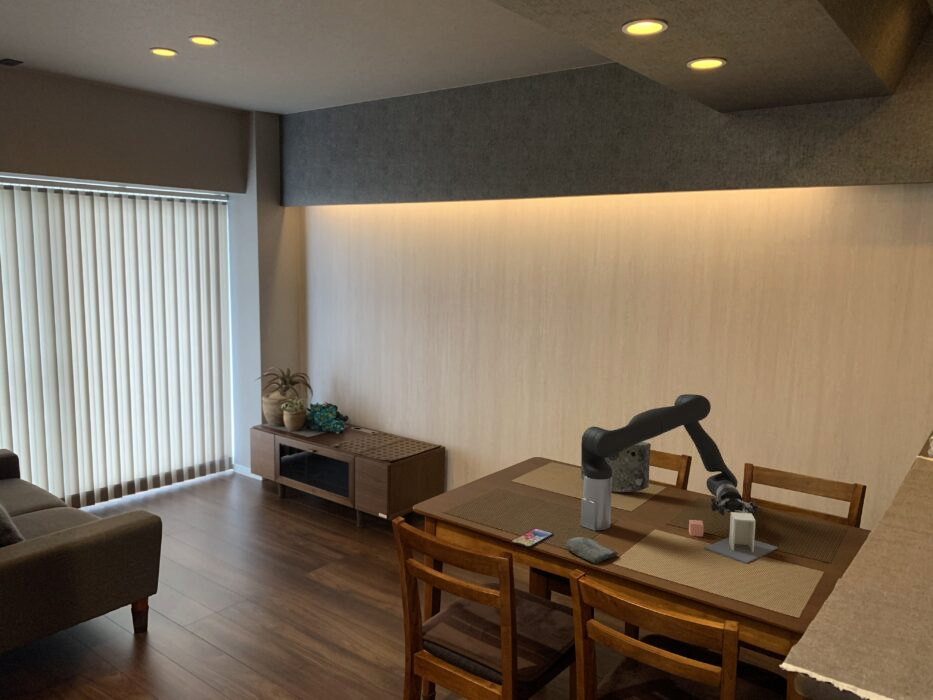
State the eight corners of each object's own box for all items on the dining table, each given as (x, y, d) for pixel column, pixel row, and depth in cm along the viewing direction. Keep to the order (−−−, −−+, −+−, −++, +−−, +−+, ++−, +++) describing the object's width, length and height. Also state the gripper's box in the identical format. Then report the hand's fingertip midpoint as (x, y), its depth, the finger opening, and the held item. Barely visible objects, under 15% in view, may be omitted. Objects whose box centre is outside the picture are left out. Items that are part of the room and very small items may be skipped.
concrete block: (576, 485, 286) (577, 436, 284) (585, 480, 293) (587, 432, 291) (640, 498, 271) (642, 446, 269) (649, 492, 278) (651, 441, 276)
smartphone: (554, 533, 235) (529, 546, 223) (554, 536, 235) (529, 549, 223) (535, 528, 240) (509, 541, 228) (535, 530, 240) (509, 543, 228)
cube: (690, 535, 235) (690, 524, 235) (688, 531, 239) (689, 519, 239) (703, 536, 234) (703, 524, 234) (701, 532, 238) (702, 520, 238)
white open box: (732, 550, 222) (734, 518, 221) (729, 542, 228) (730, 512, 227) (753, 552, 221) (755, 520, 220) (749, 544, 227) (751, 513, 226)
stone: (557, 548, 223) (593, 571, 212) (558, 537, 222) (594, 559, 211) (582, 537, 230) (619, 559, 218) (583, 526, 229) (620, 547, 217)
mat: (746, 563, 213) (746, 562, 213) (704, 549, 224) (704, 547, 224) (777, 548, 225) (777, 547, 225) (736, 535, 236) (736, 533, 235)
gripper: (707, 485, 249) (714, 500, 233) (751, 488, 247) (761, 503, 231) (706, 506, 250) (713, 523, 234) (750, 509, 247) (760, 526, 232)
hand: (737, 513), depth 233 cm, fingers open, 8 cm apart
